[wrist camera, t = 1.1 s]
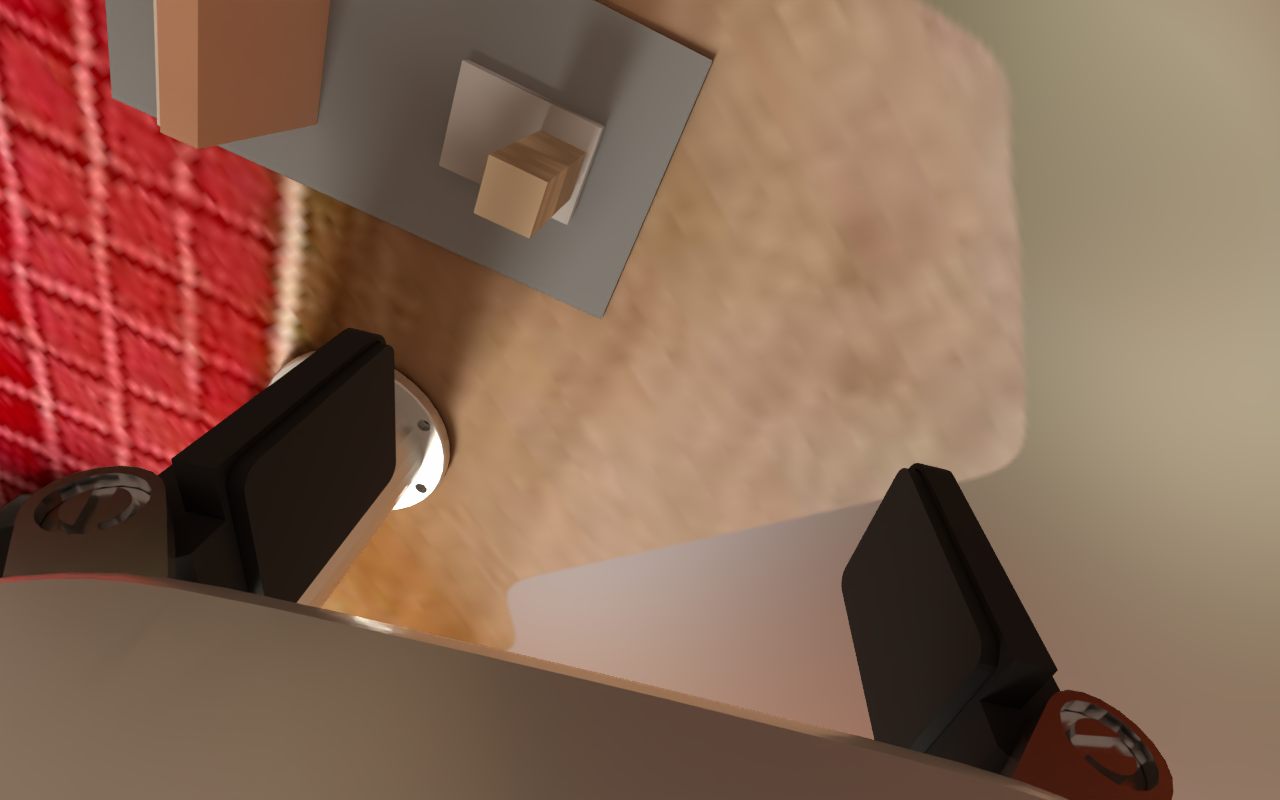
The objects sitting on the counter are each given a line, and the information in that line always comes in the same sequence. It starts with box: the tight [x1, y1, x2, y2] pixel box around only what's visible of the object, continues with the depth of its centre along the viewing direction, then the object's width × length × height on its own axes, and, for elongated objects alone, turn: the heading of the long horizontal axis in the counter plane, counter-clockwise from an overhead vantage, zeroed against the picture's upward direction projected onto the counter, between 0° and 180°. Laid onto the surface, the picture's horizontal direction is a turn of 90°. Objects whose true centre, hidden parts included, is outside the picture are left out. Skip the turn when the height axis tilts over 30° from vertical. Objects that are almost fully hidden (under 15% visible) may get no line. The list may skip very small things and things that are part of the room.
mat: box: [105, 0, 713, 319], centre depth 29 cm, size 28×14×1 cm, turn 67°
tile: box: [153, 0, 330, 149], centre depth 25 cm, size 2×7×8 cm, turn 157°
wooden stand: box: [439, 60, 605, 239], centre depth 26 cm, size 7×5×8 cm
